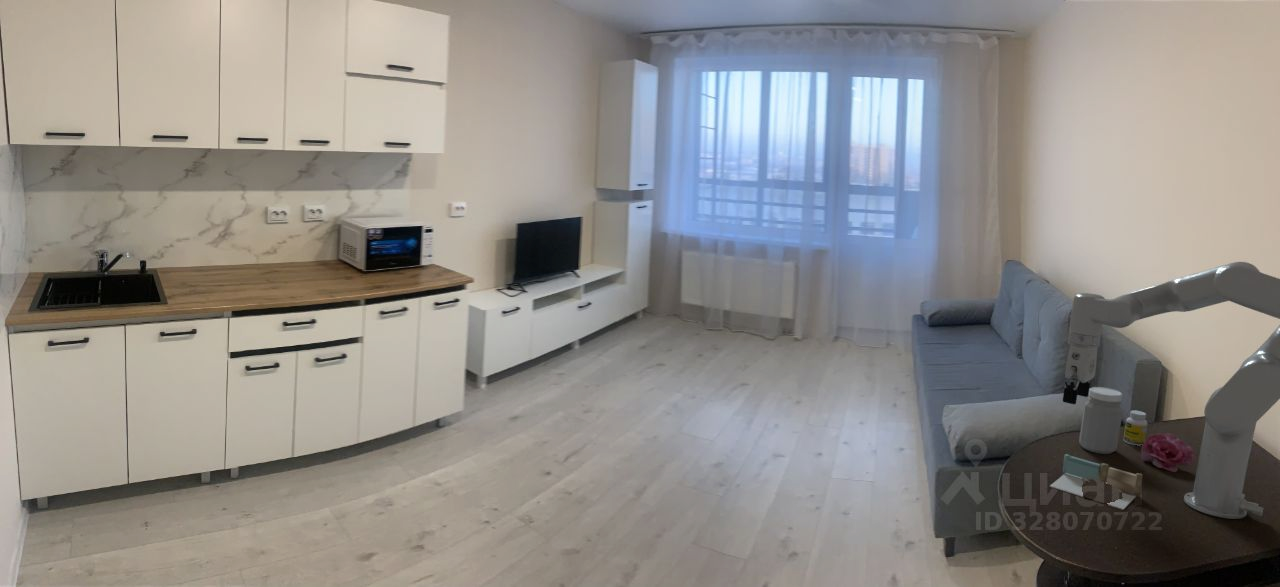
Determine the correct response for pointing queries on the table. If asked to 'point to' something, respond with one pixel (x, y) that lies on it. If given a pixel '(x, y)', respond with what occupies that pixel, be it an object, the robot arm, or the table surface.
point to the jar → (1101, 420)
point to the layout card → (1075, 487)
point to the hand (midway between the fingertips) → (1075, 399)
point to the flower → (1166, 451)
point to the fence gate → (1080, 467)
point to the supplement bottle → (1135, 428)
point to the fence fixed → (1121, 479)
